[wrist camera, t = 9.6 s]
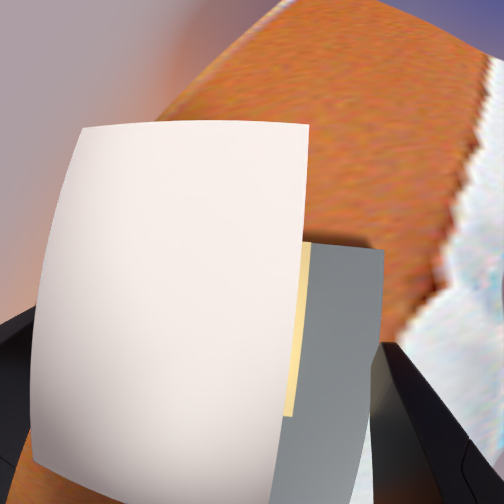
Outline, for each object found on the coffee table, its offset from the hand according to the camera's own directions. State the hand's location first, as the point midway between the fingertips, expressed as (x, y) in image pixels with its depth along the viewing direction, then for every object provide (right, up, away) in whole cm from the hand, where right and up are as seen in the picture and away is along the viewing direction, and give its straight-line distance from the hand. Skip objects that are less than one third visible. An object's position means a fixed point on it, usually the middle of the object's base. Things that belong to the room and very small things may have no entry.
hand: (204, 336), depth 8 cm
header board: (+1, -5, +8) cm, 10 cm away
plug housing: (+1, -2, +8) cm, 8 cm away
